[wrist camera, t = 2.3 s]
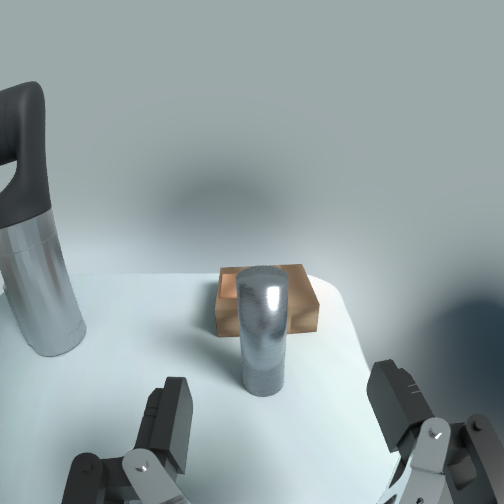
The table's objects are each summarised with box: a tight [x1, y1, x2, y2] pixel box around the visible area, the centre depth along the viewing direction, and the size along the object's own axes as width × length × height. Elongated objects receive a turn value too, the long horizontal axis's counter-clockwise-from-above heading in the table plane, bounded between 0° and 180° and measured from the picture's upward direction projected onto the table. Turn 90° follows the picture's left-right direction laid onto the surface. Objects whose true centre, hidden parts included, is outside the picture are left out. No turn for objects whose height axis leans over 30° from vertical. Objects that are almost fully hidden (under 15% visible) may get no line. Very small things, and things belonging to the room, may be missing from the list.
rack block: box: [215, 264, 320, 337], centre depth 37 cm, size 12×11×4 cm
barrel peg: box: [236, 266, 289, 397], centre depth 24 cm, size 4×4×12 cm
